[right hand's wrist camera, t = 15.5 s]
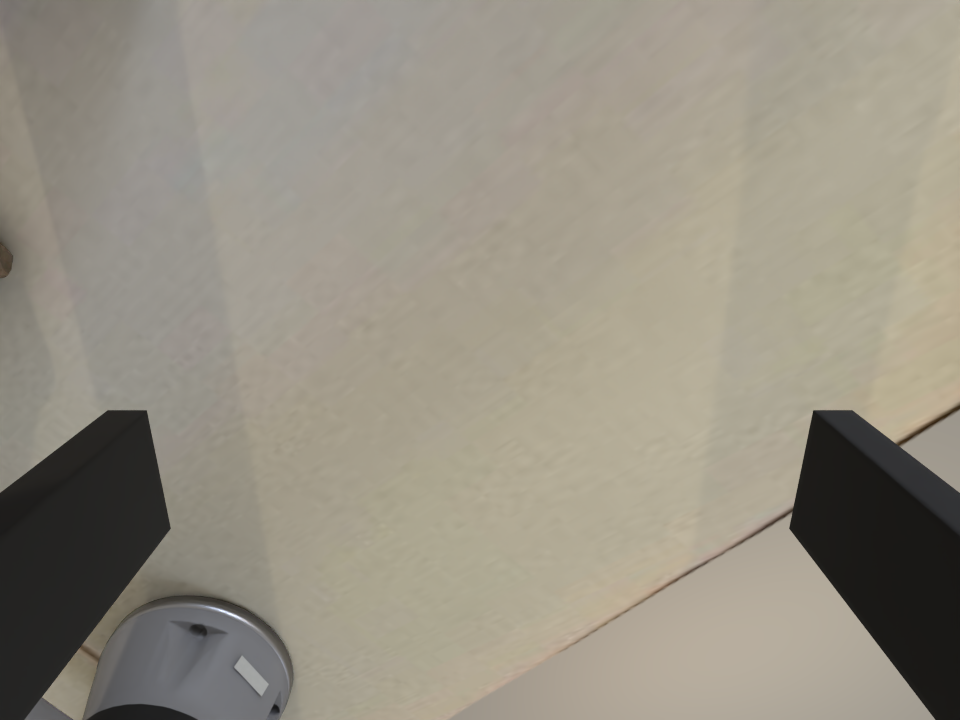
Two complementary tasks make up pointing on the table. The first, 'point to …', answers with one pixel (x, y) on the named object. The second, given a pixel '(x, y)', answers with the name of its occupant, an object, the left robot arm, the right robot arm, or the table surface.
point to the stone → (5, 261)
